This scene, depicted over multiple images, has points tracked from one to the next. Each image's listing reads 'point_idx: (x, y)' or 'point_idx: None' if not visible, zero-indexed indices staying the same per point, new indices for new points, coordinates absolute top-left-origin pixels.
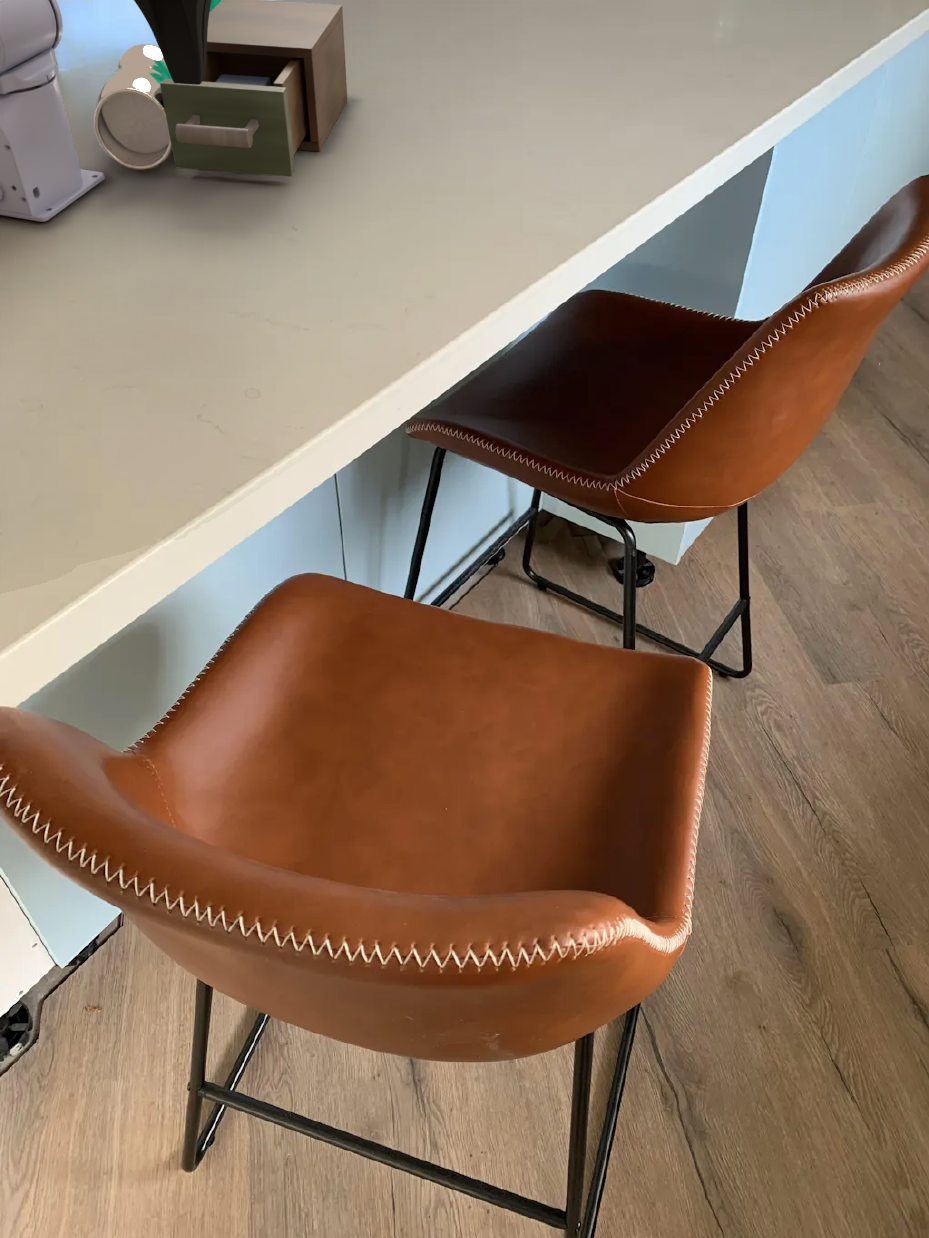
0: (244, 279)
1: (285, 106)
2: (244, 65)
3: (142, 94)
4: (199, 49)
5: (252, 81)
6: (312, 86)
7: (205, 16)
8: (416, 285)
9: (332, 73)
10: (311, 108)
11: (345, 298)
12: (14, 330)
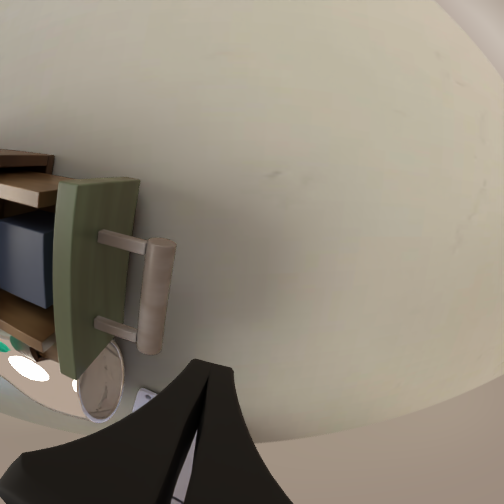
0: (398, 239)
1: (89, 182)
2: None
3: (79, 388)
4: (237, 411)
5: (9, 244)
6: (2, 157)
7: (160, 440)
8: (418, 59)
9: None
10: (21, 161)
11: (443, 134)
12: (422, 407)
